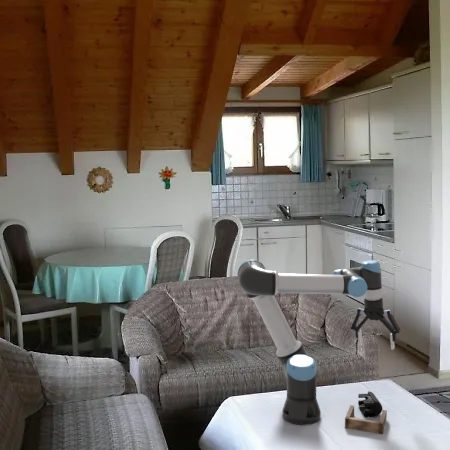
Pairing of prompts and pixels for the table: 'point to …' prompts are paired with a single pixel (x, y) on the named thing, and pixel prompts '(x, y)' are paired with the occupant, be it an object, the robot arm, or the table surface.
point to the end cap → (369, 405)
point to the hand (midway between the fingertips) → (376, 347)
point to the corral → (365, 422)
